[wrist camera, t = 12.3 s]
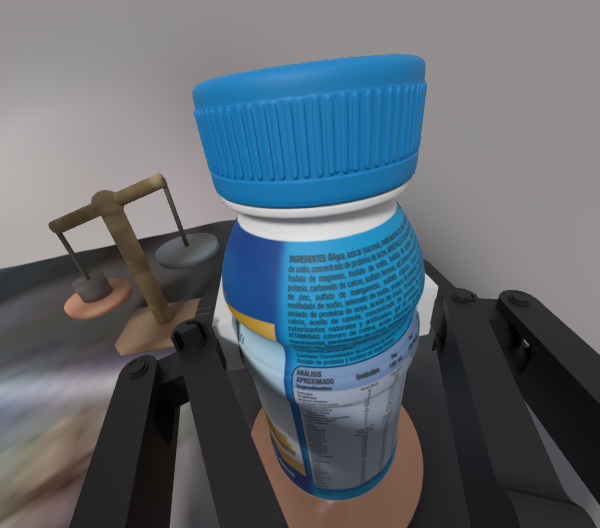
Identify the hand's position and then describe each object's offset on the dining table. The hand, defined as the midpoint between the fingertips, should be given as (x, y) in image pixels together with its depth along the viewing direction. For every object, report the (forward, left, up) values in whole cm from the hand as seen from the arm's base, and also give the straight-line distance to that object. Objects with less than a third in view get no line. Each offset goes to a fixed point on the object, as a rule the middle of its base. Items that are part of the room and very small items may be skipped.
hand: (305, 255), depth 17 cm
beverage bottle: (0, -5, -11) cm, 12 cm away
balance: (-16, +11, -14) cm, 24 cm away
